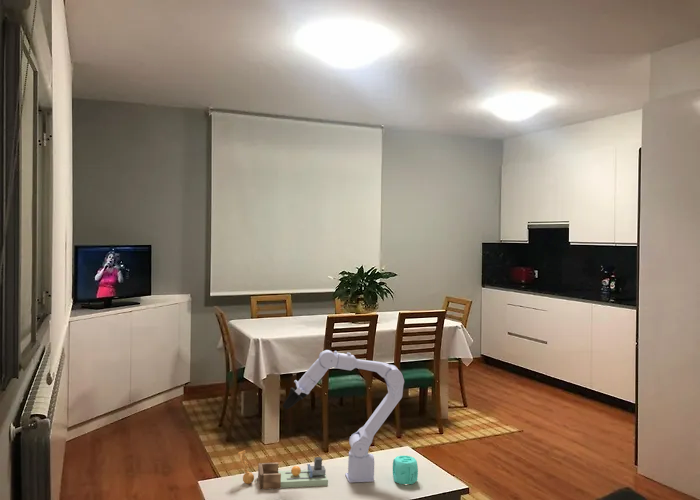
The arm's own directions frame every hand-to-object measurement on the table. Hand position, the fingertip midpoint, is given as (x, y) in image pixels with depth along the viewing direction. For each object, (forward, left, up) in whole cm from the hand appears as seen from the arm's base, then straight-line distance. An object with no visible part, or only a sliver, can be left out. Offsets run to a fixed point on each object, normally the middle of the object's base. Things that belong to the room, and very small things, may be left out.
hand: (286, 406), depth 214 cm
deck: (-6, +3, -27) cm, 27 cm away
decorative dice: (-44, +7, -27) cm, 52 cm away
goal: (+6, +3, -27) cm, 27 cm away
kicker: (-12, +3, -25) cm, 27 cm away
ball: (-4, +3, -23) cm, 23 cm away
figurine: (+14, +3, -27) cm, 30 cm away
